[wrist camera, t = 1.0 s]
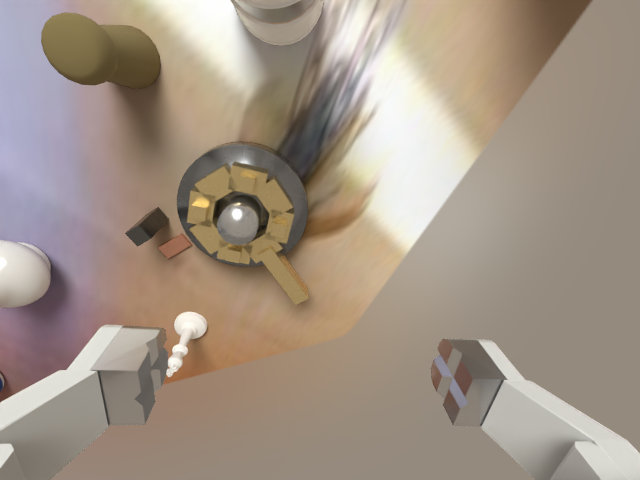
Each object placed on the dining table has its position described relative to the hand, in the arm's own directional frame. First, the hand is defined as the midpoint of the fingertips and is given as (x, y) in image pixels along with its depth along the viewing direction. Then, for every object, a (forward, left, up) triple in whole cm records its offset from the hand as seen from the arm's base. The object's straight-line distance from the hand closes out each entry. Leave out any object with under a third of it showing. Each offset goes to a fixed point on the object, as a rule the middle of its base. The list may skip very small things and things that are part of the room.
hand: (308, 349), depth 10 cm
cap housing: (+13, +3, -34) cm, 37 cm away
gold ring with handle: (+10, +7, -31) cm, 33 cm away
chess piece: (+29, +15, -35) cm, 47 cm away
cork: (+11, -17, -35) cm, 40 cm away
